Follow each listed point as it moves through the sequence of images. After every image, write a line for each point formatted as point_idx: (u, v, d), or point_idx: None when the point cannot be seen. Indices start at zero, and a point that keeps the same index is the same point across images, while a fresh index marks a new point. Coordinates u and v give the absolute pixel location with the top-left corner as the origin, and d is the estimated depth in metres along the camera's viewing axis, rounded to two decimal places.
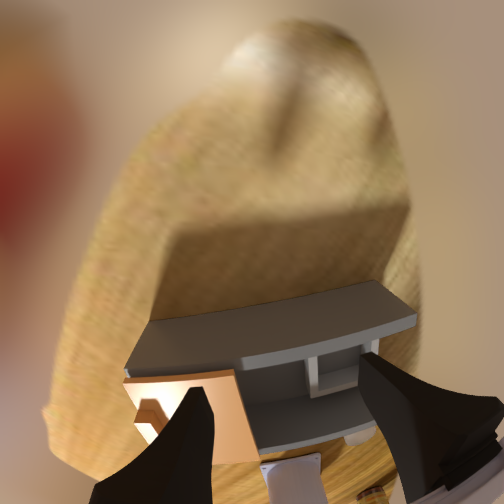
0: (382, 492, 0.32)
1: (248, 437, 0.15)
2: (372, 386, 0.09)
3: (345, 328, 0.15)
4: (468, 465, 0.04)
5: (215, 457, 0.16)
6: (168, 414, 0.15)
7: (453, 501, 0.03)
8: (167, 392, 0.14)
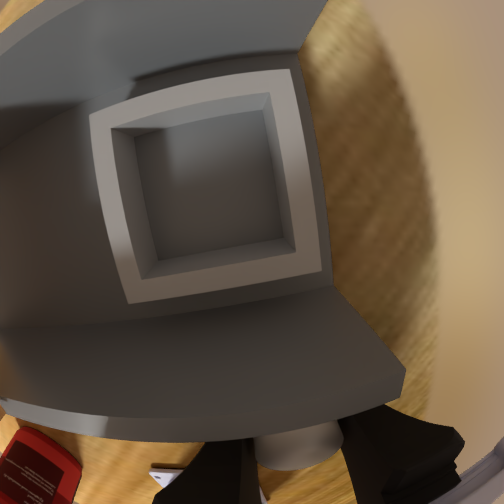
0: None
1: None
2: None
3: None
4: (417, 496, 0.04)
5: None
6: None
7: (453, 501, 0.03)
8: None
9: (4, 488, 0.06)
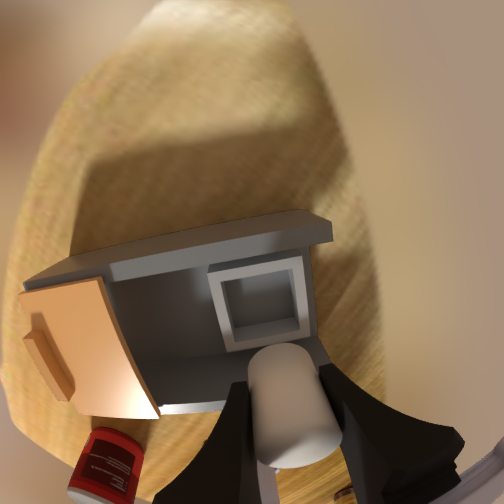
0: None
1: (132, 377, 0.14)
2: (329, 399, 0.09)
3: (230, 236, 0.14)
4: (417, 496, 0.04)
5: (110, 405, 0.14)
6: (54, 336, 0.13)
7: (453, 501, 0.03)
8: (48, 303, 0.12)
9: (93, 477, 0.16)
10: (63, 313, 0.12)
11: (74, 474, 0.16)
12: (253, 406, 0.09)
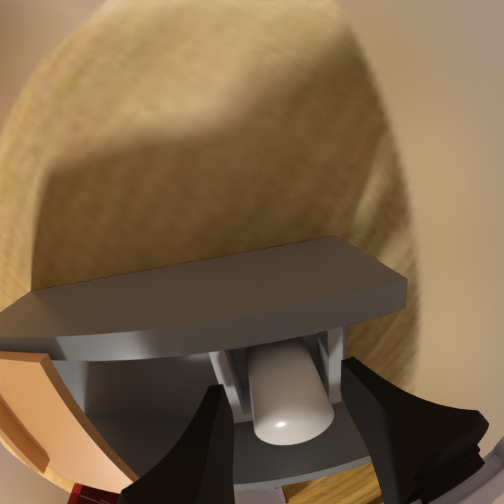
0: None
1: (112, 466, 0.08)
2: (352, 392, 0.09)
3: (241, 303, 0.08)
4: (446, 480, 0.04)
5: (91, 480, 0.08)
6: (11, 407, 0.07)
7: (453, 501, 0.03)
8: None
9: None
10: (13, 388, 0.07)
11: None
12: (252, 385, 0.11)
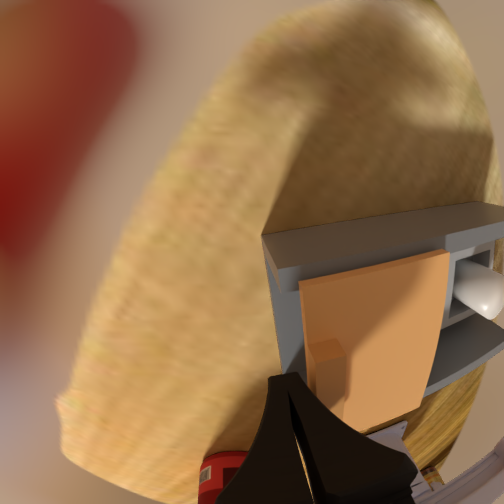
0: (436, 471, 0.28)
1: (428, 364, 0.11)
2: (290, 408, 0.09)
3: (495, 218, 0.11)
4: None
5: (376, 413, 0.12)
6: (355, 342, 0.10)
7: (453, 501, 0.03)
8: (372, 292, 0.10)
9: None
10: (393, 302, 0.10)
11: None
12: (469, 284, 0.14)
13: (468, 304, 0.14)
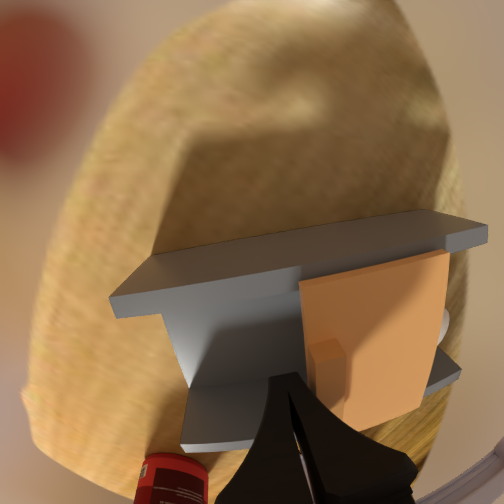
0: None
1: (429, 364, 0.11)
2: (290, 408, 0.09)
3: (419, 235, 0.11)
4: None
5: (376, 413, 0.12)
6: (355, 342, 0.10)
7: (453, 501, 0.03)
8: (372, 292, 0.10)
9: None
10: (393, 302, 0.10)
11: None
12: None
13: None
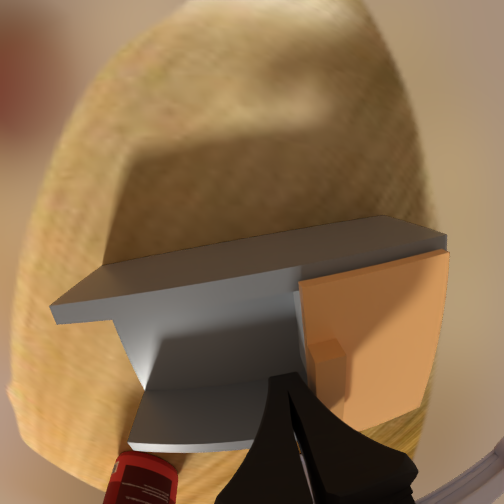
0: None
1: (429, 364, 0.11)
2: (290, 408, 0.09)
3: (351, 248, 0.11)
4: None
5: (376, 413, 0.12)
6: (355, 342, 0.10)
7: (453, 501, 0.03)
8: (372, 292, 0.10)
9: None
10: (393, 302, 0.10)
11: None
12: None
13: None
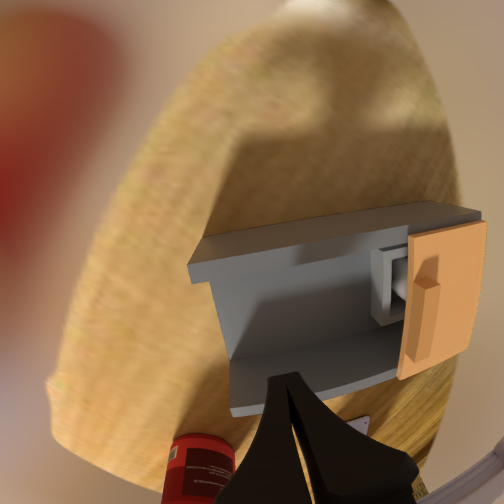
0: None
1: (475, 307, 0.14)
2: (291, 408, 0.09)
3: (427, 217, 0.14)
4: None
5: (443, 349, 0.15)
6: (437, 281, 0.13)
7: (453, 501, 0.03)
8: (448, 244, 0.13)
9: (200, 492, 0.17)
10: (458, 252, 0.13)
11: (171, 494, 0.16)
12: None
13: None
